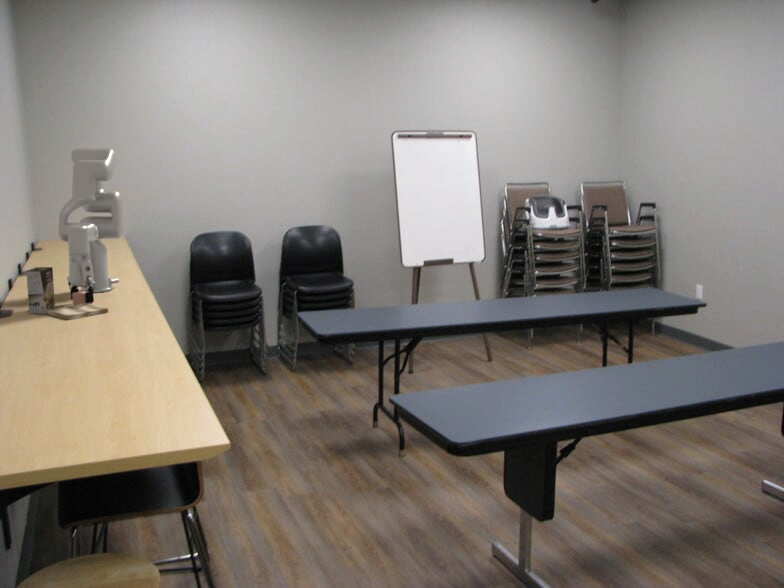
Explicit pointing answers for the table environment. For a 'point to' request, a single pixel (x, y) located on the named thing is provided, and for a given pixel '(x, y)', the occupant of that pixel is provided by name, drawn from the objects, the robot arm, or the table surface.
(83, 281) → the robot arm
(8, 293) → the table surface
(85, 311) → the birch board
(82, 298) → the coral cube
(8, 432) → the table surface
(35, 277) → the coffee box
